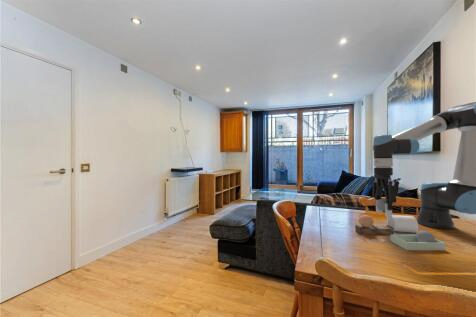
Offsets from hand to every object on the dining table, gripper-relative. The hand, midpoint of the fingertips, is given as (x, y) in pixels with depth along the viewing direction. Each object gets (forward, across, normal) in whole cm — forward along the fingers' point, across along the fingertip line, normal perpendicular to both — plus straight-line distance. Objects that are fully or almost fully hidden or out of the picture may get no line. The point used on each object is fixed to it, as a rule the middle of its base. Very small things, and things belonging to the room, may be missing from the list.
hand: (383, 214), depth 102 cm
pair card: (+9, +10, -9) cm, 16 cm away
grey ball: (+9, +15, +7) cm, 19 cm away
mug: (+10, -5, +11) cm, 16 cm away
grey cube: (-2, 0, 0) cm, 2 cm away
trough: (+9, +15, +3) cm, 18 cm away
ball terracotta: (+6, 0, -9) cm, 11 cm away
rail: (+9, 0, -5) cm, 10 cm away
